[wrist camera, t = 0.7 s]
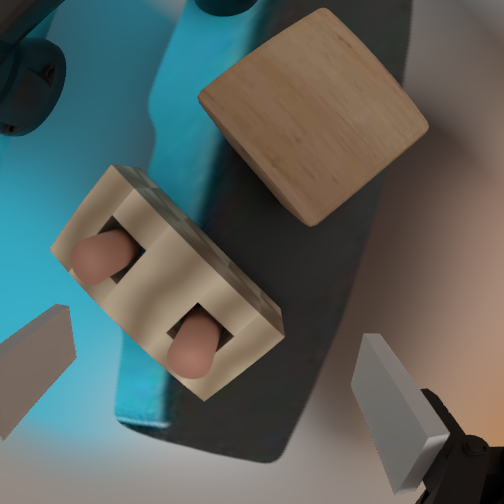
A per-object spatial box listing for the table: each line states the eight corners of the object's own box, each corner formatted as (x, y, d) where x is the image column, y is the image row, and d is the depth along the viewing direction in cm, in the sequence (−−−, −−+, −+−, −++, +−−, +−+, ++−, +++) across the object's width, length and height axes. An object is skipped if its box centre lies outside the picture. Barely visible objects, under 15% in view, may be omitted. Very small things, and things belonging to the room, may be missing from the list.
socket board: (83, 238, 38) (49, 249, 31) (140, 168, 36) (111, 164, 29) (213, 365, 41) (204, 401, 33) (280, 308, 39) (284, 337, 31)
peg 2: (178, 322, 35) (158, 357, 27) (203, 299, 34) (186, 331, 26) (205, 346, 35) (191, 386, 27) (230, 324, 34) (221, 362, 27)
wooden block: (284, 208, 37) (310, 231, 17) (228, 142, 36) (191, 94, 16) (350, 155, 36) (434, 127, 16) (294, 90, 34) (324, 2, 15)
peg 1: (102, 245, 33) (63, 261, 25) (123, 219, 32) (86, 229, 25) (126, 271, 34) (92, 293, 26) (149, 245, 33) (117, 263, 25)
